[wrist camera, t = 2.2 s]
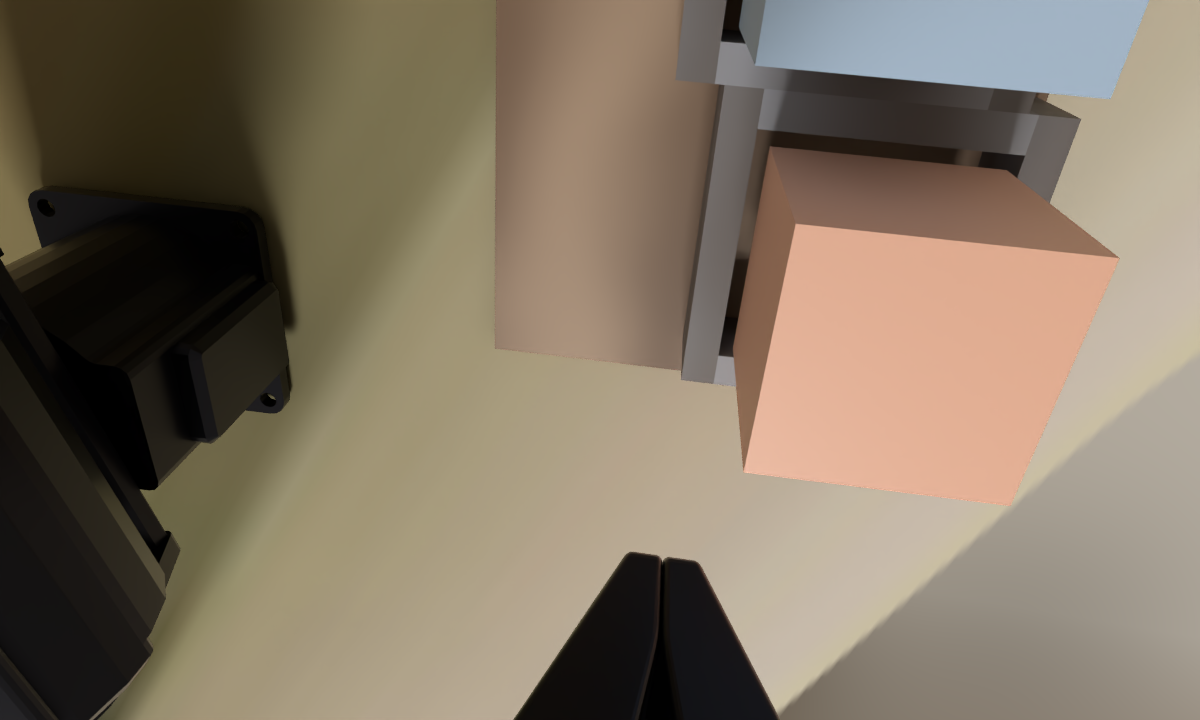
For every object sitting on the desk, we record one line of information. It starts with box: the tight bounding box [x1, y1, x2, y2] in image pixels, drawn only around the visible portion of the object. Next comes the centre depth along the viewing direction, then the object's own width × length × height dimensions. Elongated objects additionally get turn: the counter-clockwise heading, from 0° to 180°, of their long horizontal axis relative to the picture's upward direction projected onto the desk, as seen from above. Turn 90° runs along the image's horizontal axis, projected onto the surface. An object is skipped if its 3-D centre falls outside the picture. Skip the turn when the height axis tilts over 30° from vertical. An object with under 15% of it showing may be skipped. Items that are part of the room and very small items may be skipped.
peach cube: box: [733, 146, 1120, 506], centre depth 15 cm, size 5×5×5 cm
